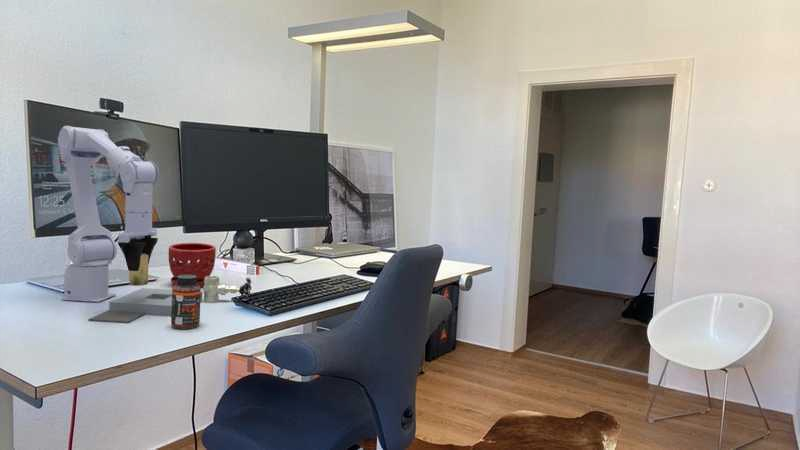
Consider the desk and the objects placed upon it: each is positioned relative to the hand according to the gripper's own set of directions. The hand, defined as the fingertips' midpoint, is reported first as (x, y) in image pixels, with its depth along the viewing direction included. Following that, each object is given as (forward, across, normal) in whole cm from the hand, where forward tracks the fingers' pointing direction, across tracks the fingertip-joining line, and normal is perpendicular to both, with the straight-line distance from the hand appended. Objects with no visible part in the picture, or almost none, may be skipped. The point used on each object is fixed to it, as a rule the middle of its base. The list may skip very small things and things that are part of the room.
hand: (138, 269), depth 126 cm
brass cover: (+4, 0, 0) cm, 4 cm away
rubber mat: (+10, -5, +2) cm, 12 cm away
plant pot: (+11, +32, -1) cm, 34 cm away
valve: (+11, +15, -16) cm, 25 cm away
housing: (+10, +6, -2) cm, 12 cm away
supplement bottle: (+11, -9, -15) cm, 21 cm away
